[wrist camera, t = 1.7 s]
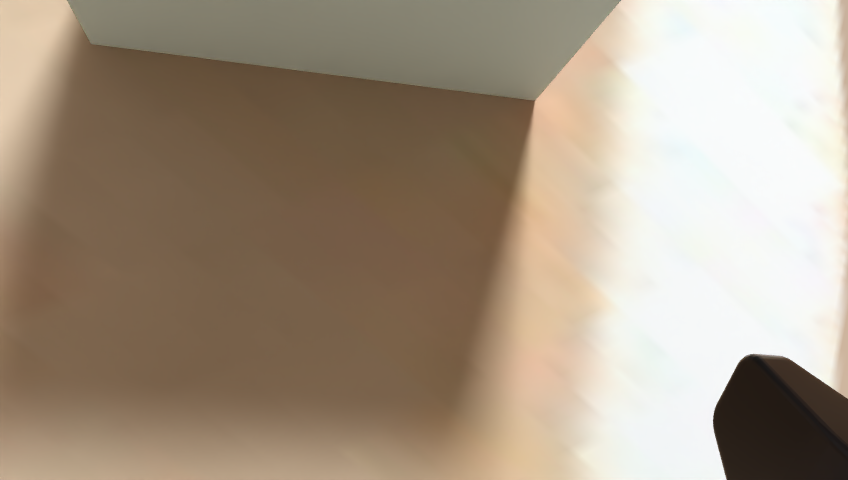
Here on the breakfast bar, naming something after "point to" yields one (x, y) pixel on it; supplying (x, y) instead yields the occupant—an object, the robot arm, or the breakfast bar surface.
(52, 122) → the breakfast bar surface
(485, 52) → the grey-green slab
